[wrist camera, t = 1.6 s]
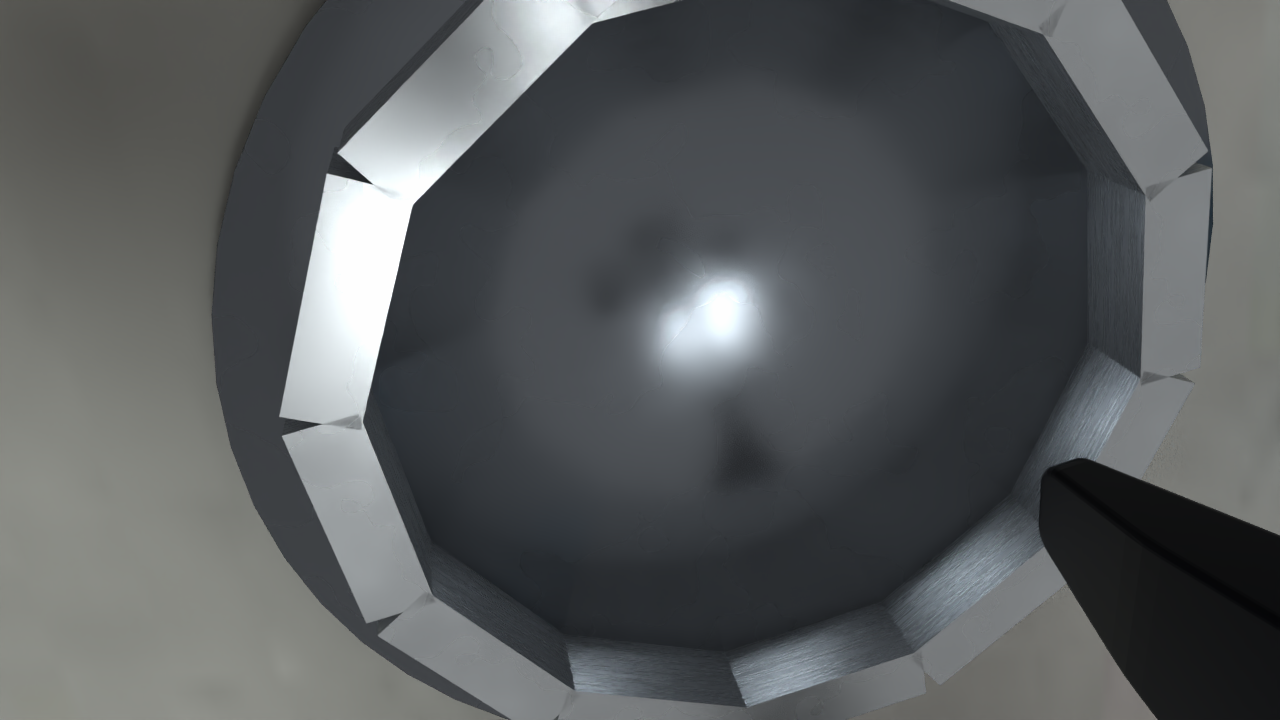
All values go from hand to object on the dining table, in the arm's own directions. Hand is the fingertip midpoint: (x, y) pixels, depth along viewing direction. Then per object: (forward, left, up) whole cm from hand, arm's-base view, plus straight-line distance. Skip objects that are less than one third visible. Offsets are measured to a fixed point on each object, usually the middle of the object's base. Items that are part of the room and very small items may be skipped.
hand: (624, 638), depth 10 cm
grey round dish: (-6, -2, -13) cm, 14 cm away
